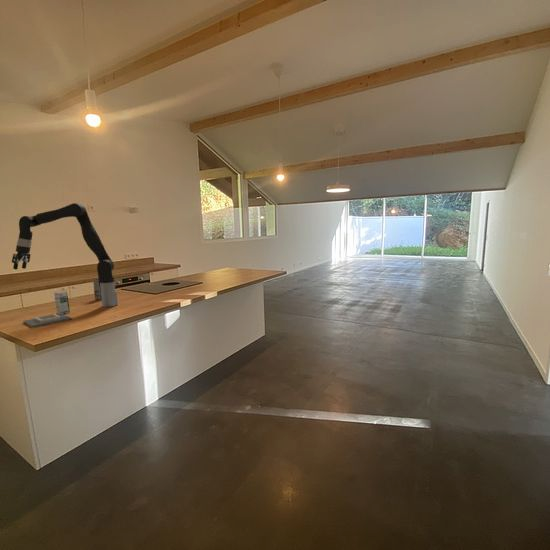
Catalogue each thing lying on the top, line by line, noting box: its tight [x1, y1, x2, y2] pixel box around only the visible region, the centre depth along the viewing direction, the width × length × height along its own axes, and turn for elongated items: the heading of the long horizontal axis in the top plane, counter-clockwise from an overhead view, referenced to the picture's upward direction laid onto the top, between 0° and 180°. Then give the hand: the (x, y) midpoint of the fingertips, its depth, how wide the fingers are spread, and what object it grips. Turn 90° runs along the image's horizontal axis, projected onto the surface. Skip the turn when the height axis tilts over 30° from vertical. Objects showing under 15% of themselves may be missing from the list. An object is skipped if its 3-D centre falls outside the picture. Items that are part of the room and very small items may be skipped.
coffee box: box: [92, 278, 102, 301], centre depth 258 cm, size 9×6×16 cm
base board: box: [22, 313, 73, 328], centre depth 197 cm, size 20×18×3 cm
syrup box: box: [53, 290, 71, 315], centre depth 215 cm, size 6×6×14 cm
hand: (19, 268), depth 220 cm, fingers open, 8 cm apart
